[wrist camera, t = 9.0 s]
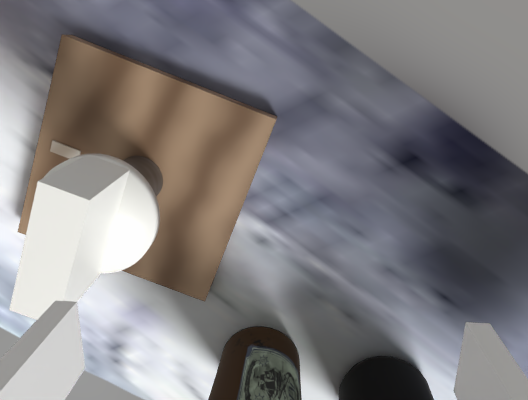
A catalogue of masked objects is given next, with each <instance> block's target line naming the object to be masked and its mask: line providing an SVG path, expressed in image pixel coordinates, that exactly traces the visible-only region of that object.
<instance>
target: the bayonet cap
mask: <svg viewBox="0 0 528 400" xmlns="http://www.w3.org/2000/svg"><path fill="white" fill-rule="evenodd" d="M159 223H160V210H159V205H158V201H157V198H156V195H155V193H154V191H153V189H152V187H151V186H150V184H149V183H148V181H147V180H146V179H145V178H144V176H143V175H142V174H141V173H140V172H139V171H138V170H136V169H135V168H134V167H133V166H131V165H130V164H128V163H126V162H125V161H123V160H120V159H118V158H116V157H113V156H109V155H104V154H94V153H92V154H83V155H79V156H75V157H73V158H70V159H68V160H66V161H64V162H62V163H61V164H59V165H57V166H55V167H54V168H53V169H51V170H50V171H49V172H48V173H47V174H46V175H45V176H44V178H43V179H41V180H39V181H38V182H37V187H36V192H35V196H34V201H33V205H32V210H31V214H30V219H29V223H28V228H27V232H26V237H25V241H24V246H23V250H22V255H21V260H20V264H19V269H18V273H17V278H16V282H15V287H14V291H13V296H12V300H11V305H10V309H9V310H10V311H13V312H16V313H19V314H22V315H24V316H27V317H30V318H33V319H36V320H38V319H39V317H40V316H41V315H42V314H43V313H44V312H45V311H46V310H47V309H48V308H49V307H50V306H51V305H52V304H53V303H54V302H55V301H73V302H78V301H79V300H80V298H81V297H82V296H83V295H84V294H85V292H86V291H87V290H88V289H89V288H90V287H91V285H92V284H93V283H94V282H95V281H96V280H97V278H98V277H99V276H100V273H113V272H118V271H121V270H124V269H126V268H128V267H130V266H132V265H133V264H135V263H136V262H137V261H139V260H140V259H141V258H142V257H143V255H144V254H145V253H146V252H147V250H148V249H149V248H150V246H151V245H152V243H153V241H154V240H155V238H156V235H157V233H158V229H159Z"/></svg>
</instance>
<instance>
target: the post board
mask: <svg viewBox="0 0 528 400" xmlns="http://www.w3.org/2000/svg"><path fill="white" fill-rule="evenodd" d="M276 119H277V116H274V115H272V114H269V113H267V112H264V111H262V110H259V109H257V108H254V107H252V106H249V105H247V104H244V103H242V102H239V101H237V100H234V99H232V98H229V97H227V96H224V95H222V94H219V93H217V92H214V91H212V90H209V89H207V88H204V87H201V86H199V85H196V84H194V83H191V82H189V81H186V80H184V79H181V78H179V77H176V76H174V75H171V74H169V73H166V72H164V71H161V70H159V69H156V68H154V67H151V66H149V65H146V64H144V63H141V62H139V61H136V60H134V59H131V58H129V57H126V56H124V55H121V54H118V53H116V52H113V51H111V50H108V49H106V48H103V47H101V46H98V45H96V44H93V43H91V42H88V41H86V40H83V39H81V38H78V37H76V36H73V35H62V36H61V41H60V45H59V50H58V54H57V59H56V63H55V68H54V72H53V77H52V81H51V86H50V90H49V94H48V99H47V103H46V108H45V112H44V117H43V121H42V126H41V130H40V135H39V139H38V144H37V148H36V153H35V157H34V162H33V166H32V171H31V175H30V179H29V184H28V188H27V193H26V197H25V202H24V206H23V211H22V215H21V220H20V224H19V229H18V232H20V233H22V234H25V235H26V232H27V228H28V223H29V219H30V214H31V210H32V205H33V201H34V196H35V192H36V187H37V182H38V181H39V180H41V179H43V178H44V176H45V175H46V174H47V173H48V172H49V171H50V170H51V169H53V168H54V167H55V166H57V165H59V164H61V163H62V162H64V161H66V160H68V159H70V158H73V157H75V156H79V155H83V154H92V153H94V154H104V155H109V156H113V157H116V158H118V159H120V160H123V161H125V162H126V163H128V164H130V165H131V166H133V167H134V168H135V169H136V170H138V171H139V172H140V173H141V174H142V175H143V176H144V178H145V179H146V180H147V181H148V183H149V184H150V186H151V187H152V189H153V191H154V193H155V195H156V198H157V201H158V205H159V210H160V223H159V229H158V233H157V235H156V238H155V240H154V241H153V243H152V245H151V246H150V248H149V249H148V250H147V252H146V253H145V254H144V255H143V257H142V258H141V259H140V260H139V261H137V262H136V263H135V264H133V265H132V266H130V267H128V268H126V269H124V270H122V271H124V272H127V273H130V274H132V275H135V276H138V277H140V278H143V279H146V280H148V281H151V282H154V283H156V284H159V285H162V286H165V287H167V288H170V289H173V290H175V291H178V292H181V293H183V294H186V295H189V296H191V297H194V298H197V299H199V300H202V301H205V300H206V297H207V295H208V292H209V290H210V287H211V285H212V282H213V279H214V277H215V274H216V272H217V269H218V267H219V264H220V262H221V259H222V257H223V254H224V251H225V249H226V246H227V244H228V241H229V239H230V236H231V234H232V231H233V229H234V226H235V223H236V221H237V218H238V216H239V213H240V211H241V208H242V206H243V203H244V201H245V198H246V195H247V193H248V190H249V188H250V185H251V183H252V180H253V178H254V175H255V173H256V170H257V167H258V165H259V162H260V160H261V157H262V155H263V152H264V150H265V147H266V144H267V142H268V139H269V137H270V134H271V132H272V129H273V127H274V124H275V122H276Z"/></svg>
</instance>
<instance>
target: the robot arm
mask: <svg viewBox="0 0 528 400" xmlns="http://www.w3.org/2000/svg"><path fill="white" fill-rule="evenodd" d="M84 369H85V363H84V355H83V347H82V338H81V330H80V322H79V314H78V306H77V302H73V301H55V302H54V303H53V304H52V305H51V306H50V307H49V308H48V309H47V310H46V311H45V312H44V313H43V314H42V315H41V316H40V317H39V319H38V320H37V321H36V322H35V323H34V324H33V325H32V326H31V327H30V328H29V329H28V330H27V331H26V332H25V333H24V334H23V336H22V337H21V338H20V339H19V340H18V341H17V342H16V343H15V344H14V345H13V346H12V348H10V349H9V350H8V351H7V353H6V354H5V355H4V356H3V357H2V358H1V359H0V400H65V398H66V397H67V395H68V394H69V392H70V391H71V389H72V388H73V386H74V384H75V383H76V382H77V380H78V378H79V377H80V375H81V374H82V372H83V371H84ZM454 393H455V395H456V397H457V400H528V379H527V378H526V376H525V375H524V373H523V372H522V370H521V369H520V367H519V366H518V364H517V363H516V361H515V360H514V358H513V357H512V355H511V354H510V353H509V351H508V350H507V348H506V347H505V345H504V344H503V342H502V341H501V339H500V338H499V336H498V335H497V333H496V332H495V330H494V329H493V328H492V326H491V325H490V323H471V322H466V324H465V330H464V336H463V341H462V347H461V353H460V358H459V364H458V370H457V375H456V381H455V387H454Z"/></svg>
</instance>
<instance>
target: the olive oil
mask: <svg viewBox="0 0 528 400" xmlns="http://www.w3.org/2000/svg"><path fill="white" fill-rule="evenodd" d="M208 400H301V384H300V362H299V355H298V351H297V349H296V347H295V345H294V344H293V342H292V341H291V340H290V339H289V338H288V337H287V336H286V335H284V334H283V333H281V332H279V331H277V330H275V329H272V328H267V327H250V328H246V329H243V330H241V331H239V332H237V333H236V334H235V335H233V336H232V337H231V338H230V339H229V340H228V342H227V343H226V345H225V347H224V350H223V353H222V357H221V360H220V363H219V367H218V370H217V374H216V377H215V380H214V383H213V387H212V390H211V393H210V396H209V399H208Z"/></svg>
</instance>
